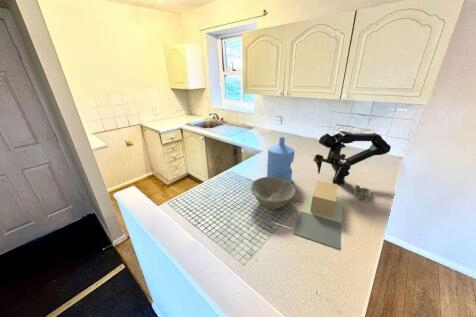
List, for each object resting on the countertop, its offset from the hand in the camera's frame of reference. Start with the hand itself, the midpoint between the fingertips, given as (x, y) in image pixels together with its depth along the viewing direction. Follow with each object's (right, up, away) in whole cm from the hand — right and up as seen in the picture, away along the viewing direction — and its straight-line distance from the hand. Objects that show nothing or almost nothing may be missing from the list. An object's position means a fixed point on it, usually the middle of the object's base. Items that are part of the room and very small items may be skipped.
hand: (326, 176), depth 108 cm
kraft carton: (-6, -14, -8) cm, 17 cm away
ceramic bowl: (-32, -14, -6) cm, 35 cm away
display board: (-10, -17, -15) cm, 24 cm away
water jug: (-23, -4, +17) cm, 29 cm away
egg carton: (+19, -11, 0) cm, 22 cm away
